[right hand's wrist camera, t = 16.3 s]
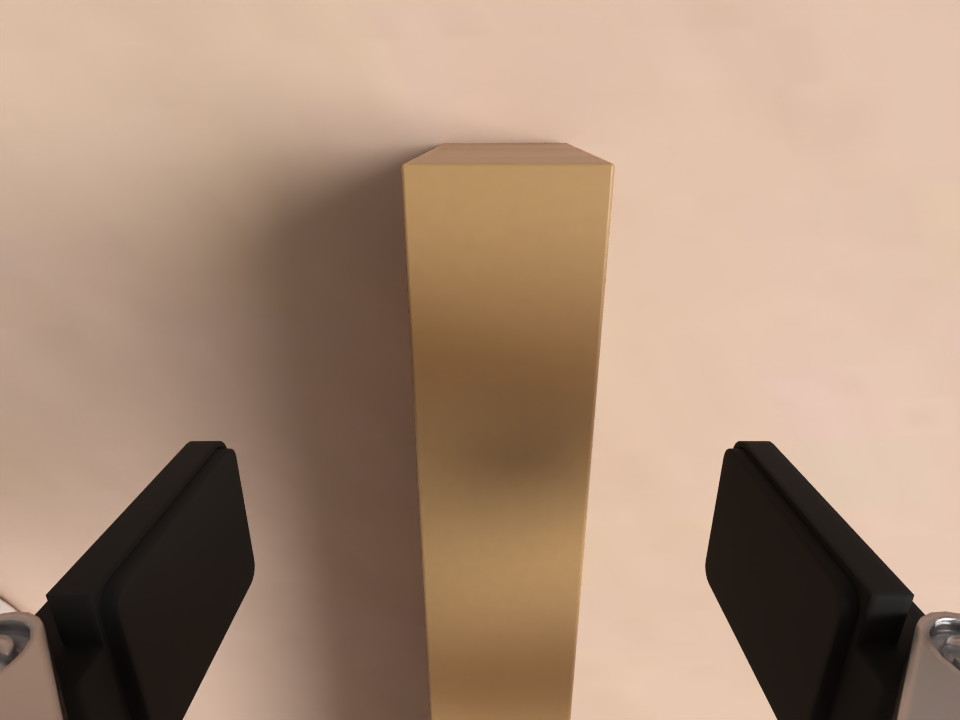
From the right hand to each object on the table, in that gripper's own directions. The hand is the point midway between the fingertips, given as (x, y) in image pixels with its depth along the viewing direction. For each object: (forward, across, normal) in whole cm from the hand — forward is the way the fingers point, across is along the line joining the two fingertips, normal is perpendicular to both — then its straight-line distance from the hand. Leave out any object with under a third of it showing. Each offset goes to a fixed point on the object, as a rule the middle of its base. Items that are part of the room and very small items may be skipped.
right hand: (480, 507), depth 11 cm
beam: (+12, +1, -26) cm, 28 cm away
